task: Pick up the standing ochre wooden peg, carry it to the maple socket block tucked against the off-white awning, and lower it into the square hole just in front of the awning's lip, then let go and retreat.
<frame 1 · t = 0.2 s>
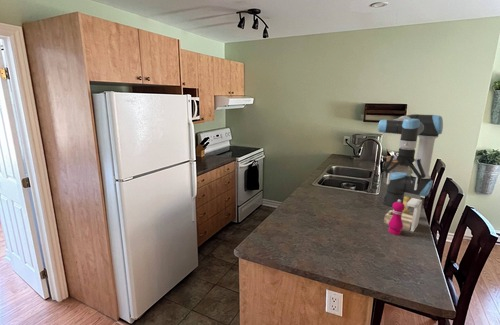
hand: (401, 186, 147), 28 cm above the kitchen counter, fingers open, 13 cm apart
awning: (412, 214, 159), on the kitchen counter
peg: (404, 217, 174), on the kitchen counter
socket block: (399, 223, 165), on the kitchen counter
pepper mill: (394, 232, 154), on the kitchen counter
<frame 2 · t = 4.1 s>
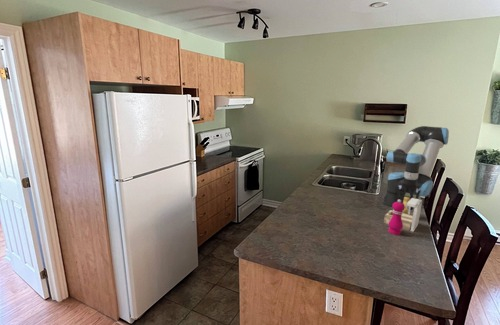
hand: (404, 213, 173), 3 cm above the kitchen counter, fingers closed on peg, 4 cm apart
peg: (404, 217, 174), on the kitchen counter, touching gripper
everything else where it was.
when the fingers open (6 cm above the kitchen counter, at t = 8.6 s): peg drops 2 cm, on the kitchen counter.
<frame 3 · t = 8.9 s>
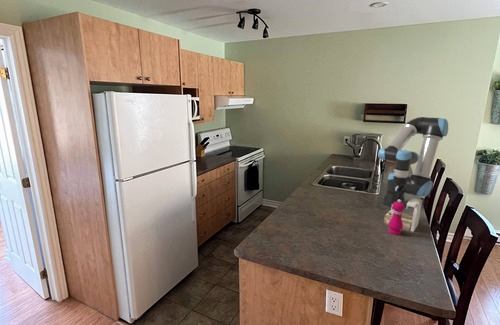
hand: (395, 211, 165), 7 cm above the kitchen counter, fingers open, 8 cm apart
peg: (393, 221, 167), on the kitchen counter
everything else where it was.
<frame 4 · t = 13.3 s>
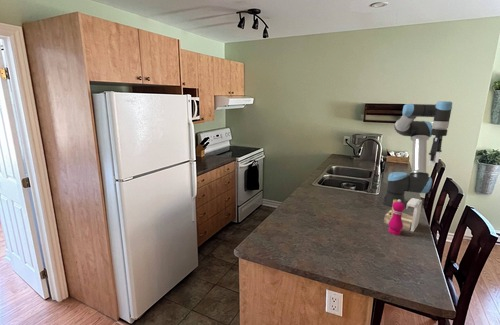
hand: (433, 164, 161), 37 cm above the kitchen counter, fingers open, 13 cm apart
nothing on the kitchen counter moved.
at the end: peg 0.0 cm from the target spot on the socket block, point 0.0 cm above the socket block's base; peg tilted 0°; the gripper is holding nothing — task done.
